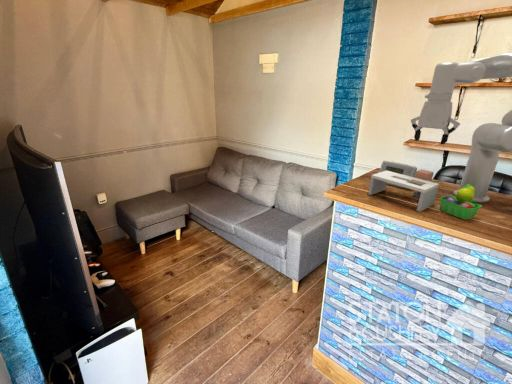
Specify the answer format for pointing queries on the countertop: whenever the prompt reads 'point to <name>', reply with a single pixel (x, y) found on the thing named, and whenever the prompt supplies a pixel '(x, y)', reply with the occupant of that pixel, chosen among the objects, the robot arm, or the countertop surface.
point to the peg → (424, 176)
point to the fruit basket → (461, 203)
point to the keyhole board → (426, 189)
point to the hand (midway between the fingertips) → (429, 142)
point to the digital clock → (398, 170)
